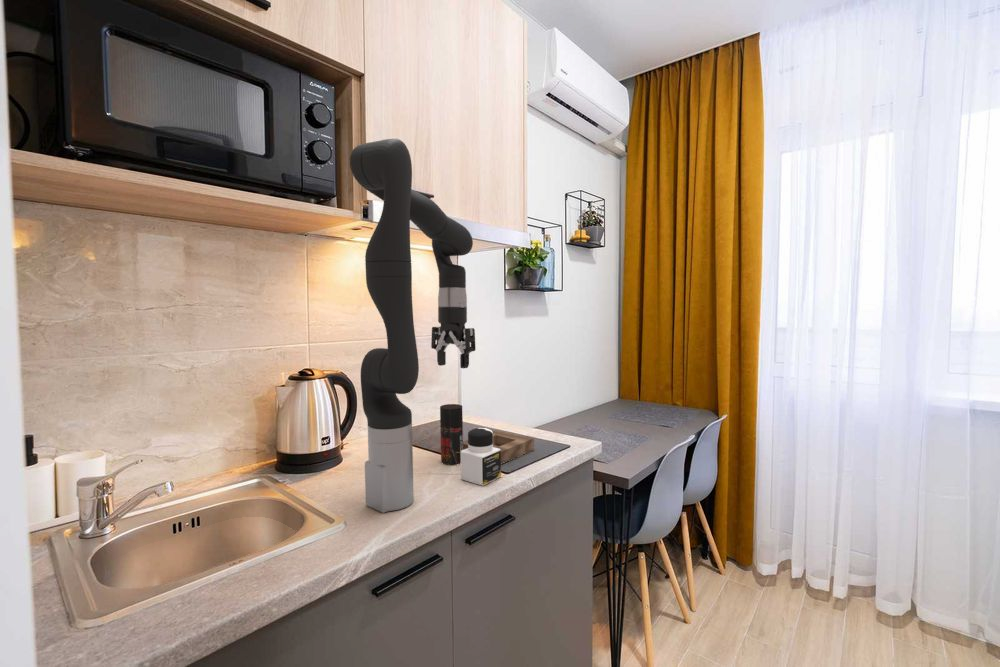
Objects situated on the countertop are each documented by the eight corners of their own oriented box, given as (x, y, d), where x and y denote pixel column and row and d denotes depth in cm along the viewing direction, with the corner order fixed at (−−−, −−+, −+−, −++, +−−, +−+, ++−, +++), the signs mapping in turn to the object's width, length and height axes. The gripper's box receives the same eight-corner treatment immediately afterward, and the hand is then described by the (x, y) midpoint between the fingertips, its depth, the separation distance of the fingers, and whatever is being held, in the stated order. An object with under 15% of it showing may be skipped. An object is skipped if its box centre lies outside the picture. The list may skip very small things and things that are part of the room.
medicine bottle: (483, 486, 109) (482, 436, 108) (460, 479, 114) (459, 430, 113) (501, 477, 115) (501, 429, 114) (479, 470, 119) (478, 424, 118)
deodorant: (443, 457, 129) (441, 404, 128) (464, 457, 129) (463, 404, 128) (439, 465, 123) (438, 409, 122) (461, 465, 123) (460, 409, 122)
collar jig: (498, 466, 123) (498, 452, 122) (459, 455, 131) (459, 442, 131) (534, 450, 135) (533, 438, 135) (496, 441, 144) (496, 430, 143)
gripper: (423, 305, 125) (424, 365, 126) (461, 305, 116) (462, 370, 117) (444, 305, 131) (444, 363, 132) (482, 305, 122) (482, 367, 123)
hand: (452, 366), depth 124 cm, fingers open, 8 cm apart
